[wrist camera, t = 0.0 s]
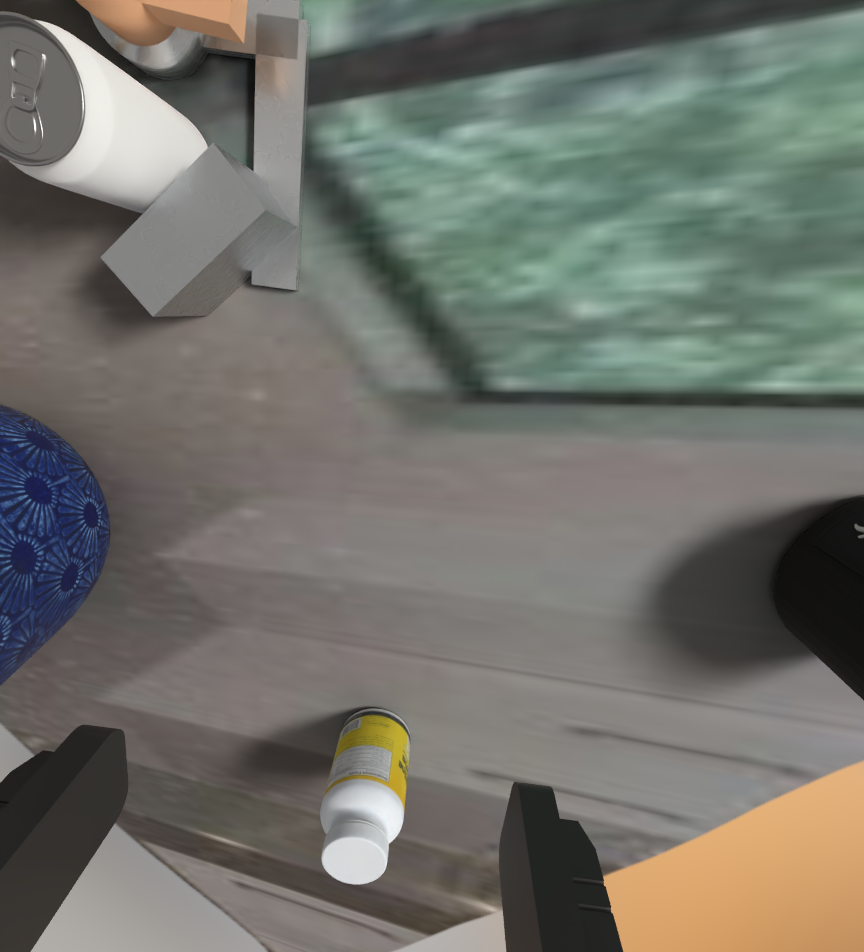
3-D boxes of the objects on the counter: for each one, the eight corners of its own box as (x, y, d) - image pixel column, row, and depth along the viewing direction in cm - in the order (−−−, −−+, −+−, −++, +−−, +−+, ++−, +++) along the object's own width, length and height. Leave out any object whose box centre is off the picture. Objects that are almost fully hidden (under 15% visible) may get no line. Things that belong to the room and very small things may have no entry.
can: (110, 201, 34) (-62, 145, 23) (125, 92, 32) (-55, -29, 21) (205, 236, 34) (83, 199, 23) (225, 131, 32) (103, 33, 21)
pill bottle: (388, 770, 48) (369, 906, 37) (328, 739, 47) (292, 870, 36) (424, 725, 47) (417, 854, 36) (364, 692, 46) (336, 814, 35)
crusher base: (50, -68, 30) (-65, -178, 23) (313, -31, 30) (273, -129, 23) (80, 298, 36) (-4, 295, 29) (297, 327, 36) (262, 331, 29)
